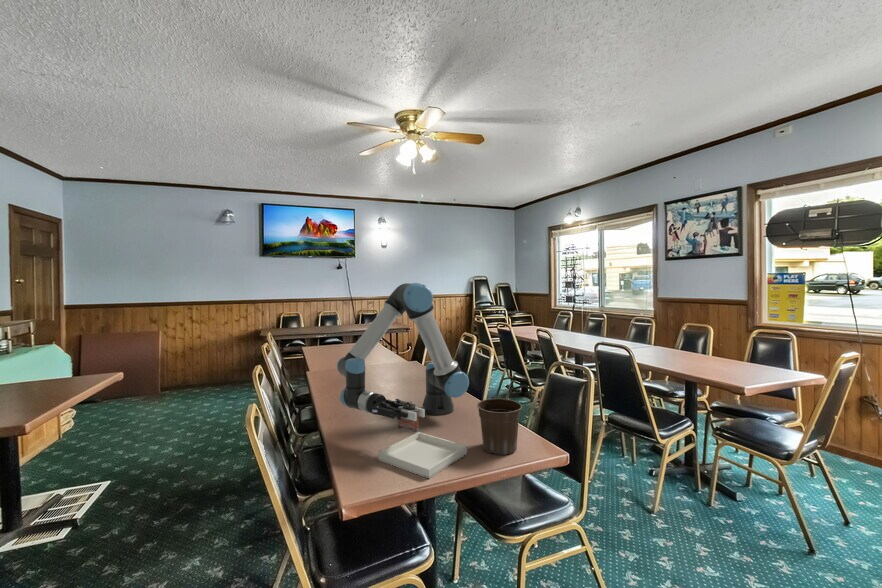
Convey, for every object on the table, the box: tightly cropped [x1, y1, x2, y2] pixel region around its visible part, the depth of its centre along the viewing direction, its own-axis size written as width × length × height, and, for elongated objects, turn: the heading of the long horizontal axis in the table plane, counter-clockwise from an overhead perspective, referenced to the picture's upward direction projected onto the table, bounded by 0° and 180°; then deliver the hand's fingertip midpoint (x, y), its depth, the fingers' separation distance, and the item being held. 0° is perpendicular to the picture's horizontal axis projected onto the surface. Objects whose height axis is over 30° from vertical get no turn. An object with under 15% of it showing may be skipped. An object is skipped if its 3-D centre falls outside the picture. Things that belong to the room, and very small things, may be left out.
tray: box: [377, 431, 468, 479], centre depth 134 cm, size 22×22×3 cm
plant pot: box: [476, 398, 523, 456], centre depth 141 cm, size 16×16×16 cm
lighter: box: [397, 400, 420, 433], centre depth 137 cm, size 8×3×10 cm, turn 64°
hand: (419, 415), depth 133 cm, fingers closed on lighter, 4 cm apart
